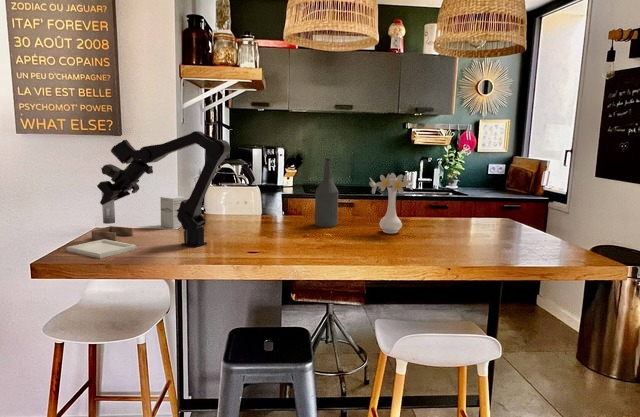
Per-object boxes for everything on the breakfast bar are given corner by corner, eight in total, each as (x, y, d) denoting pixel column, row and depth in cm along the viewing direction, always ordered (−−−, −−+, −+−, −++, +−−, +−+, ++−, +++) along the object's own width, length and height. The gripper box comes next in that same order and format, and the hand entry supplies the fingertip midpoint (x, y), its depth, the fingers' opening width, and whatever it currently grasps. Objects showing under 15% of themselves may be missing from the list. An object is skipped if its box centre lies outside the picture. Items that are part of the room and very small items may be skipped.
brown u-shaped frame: (133, 235, 179) (132, 227, 178) (115, 241, 169) (114, 233, 168) (110, 233, 181) (110, 226, 180) (91, 239, 171) (91, 231, 170)
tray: (136, 249, 158) (136, 245, 158) (99, 258, 146) (99, 253, 146) (104, 243, 165) (104, 239, 165) (67, 251, 153) (66, 247, 153)
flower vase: (363, 229, 202) (365, 171, 198) (402, 228, 207) (405, 171, 203) (375, 236, 190) (378, 174, 186) (416, 234, 195) (419, 174, 191)
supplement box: (160, 226, 197) (159, 196, 195) (173, 223, 203) (172, 194, 201) (173, 228, 193) (172, 198, 191) (186, 225, 200) (185, 196, 198)
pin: (117, 222, 171) (115, 183, 169) (109, 224, 167) (107, 184, 165) (109, 221, 172) (107, 183, 170) (100, 223, 169) (98, 184, 167)
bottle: (310, 223, 212) (312, 157, 207) (329, 222, 217) (331, 157, 212) (321, 228, 203) (323, 158, 198) (341, 226, 208) (343, 158, 203)
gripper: (130, 155, 175) (103, 184, 178) (101, 158, 157) (72, 189, 160) (151, 177, 175) (124, 205, 178) (124, 182, 157) (95, 213, 160)
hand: (104, 203), depth 169 cm, fingers closed on pin, 4 cm apart
